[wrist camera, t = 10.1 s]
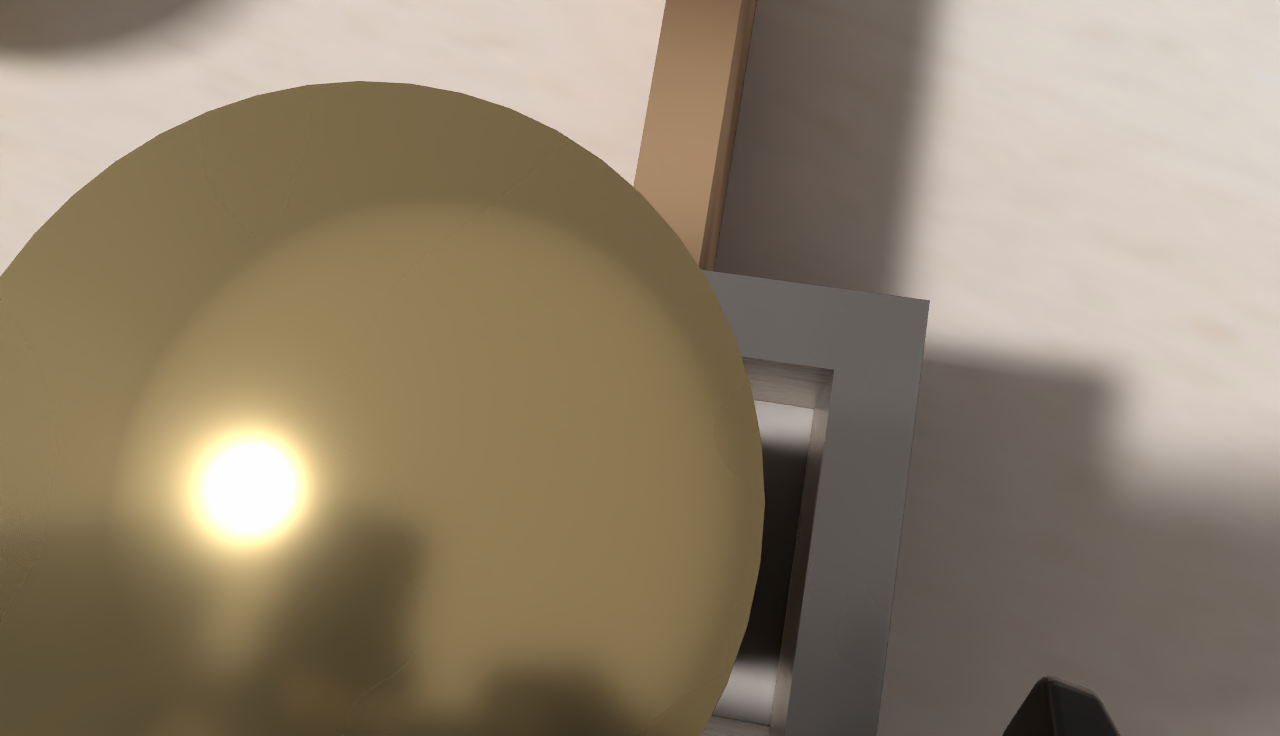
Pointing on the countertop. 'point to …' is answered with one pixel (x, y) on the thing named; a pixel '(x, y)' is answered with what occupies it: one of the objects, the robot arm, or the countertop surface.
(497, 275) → the hinge pin
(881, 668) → the gray square planter
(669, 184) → the hinge leaves
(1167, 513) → the countertop surface
